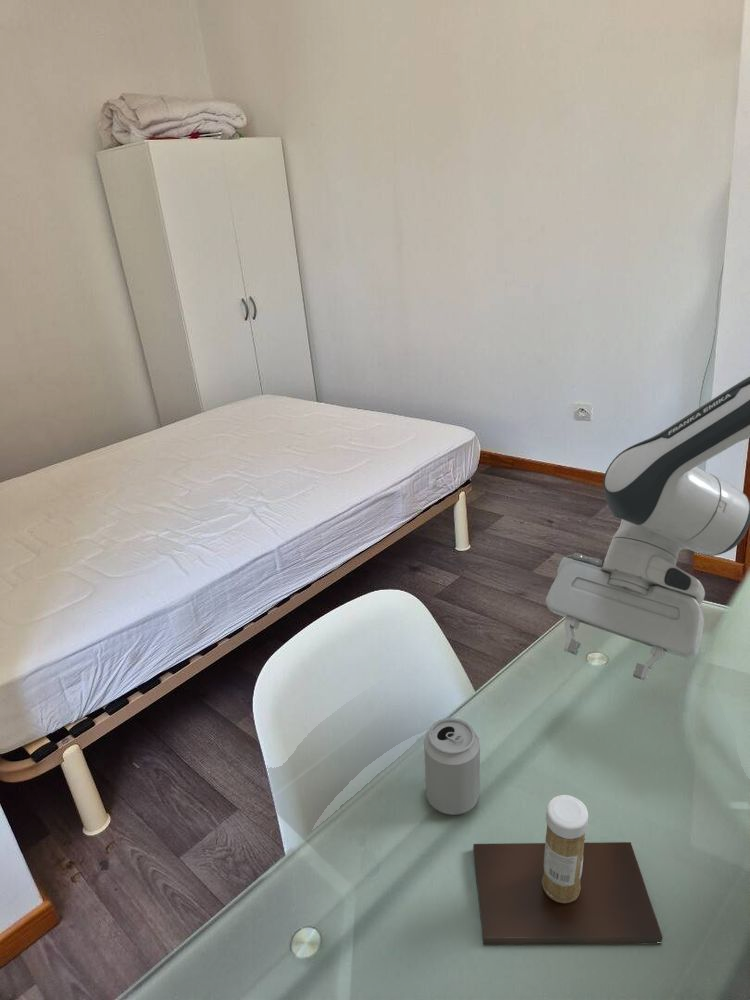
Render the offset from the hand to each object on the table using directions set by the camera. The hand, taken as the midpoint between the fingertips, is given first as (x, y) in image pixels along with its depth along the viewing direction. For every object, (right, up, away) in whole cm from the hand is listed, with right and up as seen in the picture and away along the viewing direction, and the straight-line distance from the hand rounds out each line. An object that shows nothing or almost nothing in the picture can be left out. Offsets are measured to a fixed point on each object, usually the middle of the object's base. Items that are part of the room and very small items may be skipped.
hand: (603, 665), depth 92 cm
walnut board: (-8, -26, -8) cm, 28 cm away
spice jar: (-8, -25, -9) cm, 27 cm away
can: (-20, -20, +5) cm, 28 cm away
